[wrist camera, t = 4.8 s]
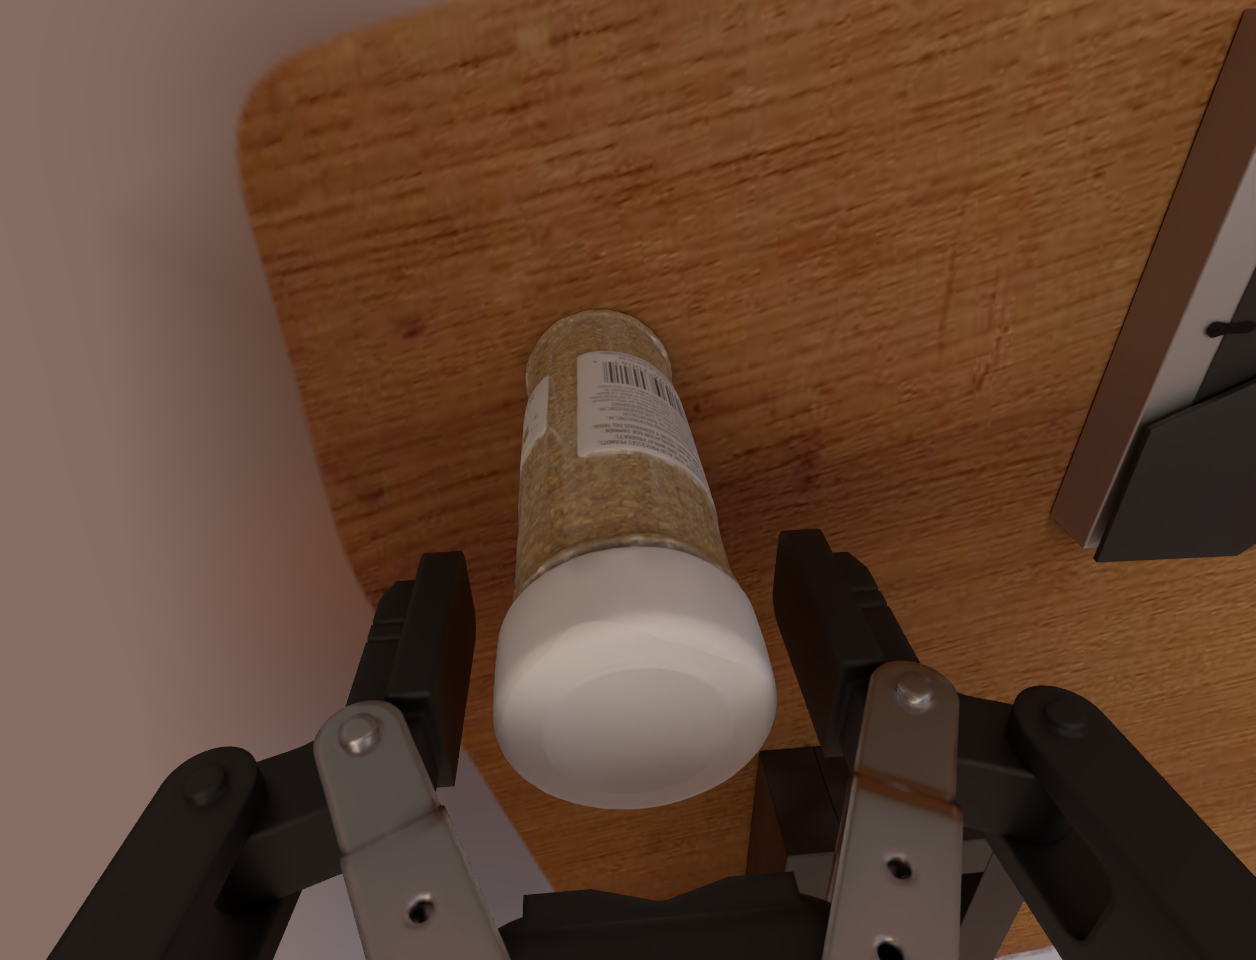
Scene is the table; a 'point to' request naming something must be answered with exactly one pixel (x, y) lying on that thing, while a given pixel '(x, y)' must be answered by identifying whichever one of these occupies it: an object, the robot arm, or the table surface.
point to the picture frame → (1183, 362)
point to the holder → (807, 832)
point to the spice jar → (622, 587)
